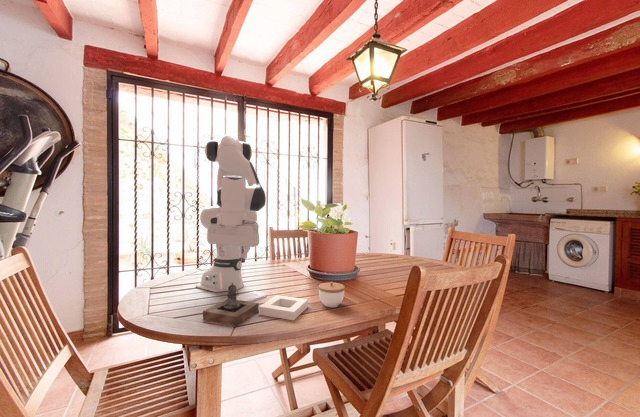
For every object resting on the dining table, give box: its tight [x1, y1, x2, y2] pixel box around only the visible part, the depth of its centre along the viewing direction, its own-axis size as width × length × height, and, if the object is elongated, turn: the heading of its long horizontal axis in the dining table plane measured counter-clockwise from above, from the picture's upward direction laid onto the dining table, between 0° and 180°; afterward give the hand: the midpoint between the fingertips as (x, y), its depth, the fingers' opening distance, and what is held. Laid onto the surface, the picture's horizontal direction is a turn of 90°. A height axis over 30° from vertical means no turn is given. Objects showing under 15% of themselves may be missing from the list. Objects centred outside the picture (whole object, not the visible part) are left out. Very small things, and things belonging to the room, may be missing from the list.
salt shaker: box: [224, 283, 240, 312], centre depth 106 cm, size 6×6×12 cm
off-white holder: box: [258, 294, 309, 321], centre depth 112 cm, size 14×14×3 cm
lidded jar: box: [318, 281, 346, 308], centre depth 119 cm, size 11×11×9 cm
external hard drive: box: [236, 290, 267, 302], centre depth 125 cm, size 2×8×12 cm
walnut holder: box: [202, 298, 260, 327], centre depth 106 cm, size 14×14×3 cm
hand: (232, 257), depth 106 cm, fingers open, 8 cm apart
